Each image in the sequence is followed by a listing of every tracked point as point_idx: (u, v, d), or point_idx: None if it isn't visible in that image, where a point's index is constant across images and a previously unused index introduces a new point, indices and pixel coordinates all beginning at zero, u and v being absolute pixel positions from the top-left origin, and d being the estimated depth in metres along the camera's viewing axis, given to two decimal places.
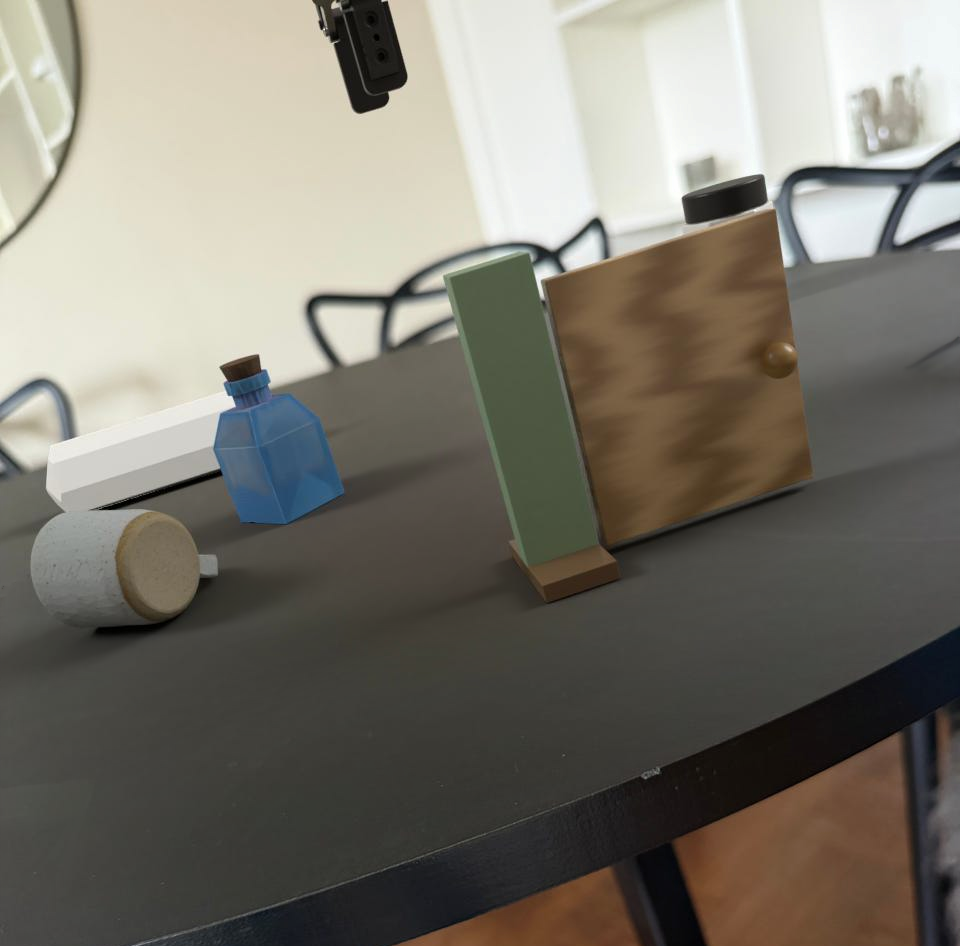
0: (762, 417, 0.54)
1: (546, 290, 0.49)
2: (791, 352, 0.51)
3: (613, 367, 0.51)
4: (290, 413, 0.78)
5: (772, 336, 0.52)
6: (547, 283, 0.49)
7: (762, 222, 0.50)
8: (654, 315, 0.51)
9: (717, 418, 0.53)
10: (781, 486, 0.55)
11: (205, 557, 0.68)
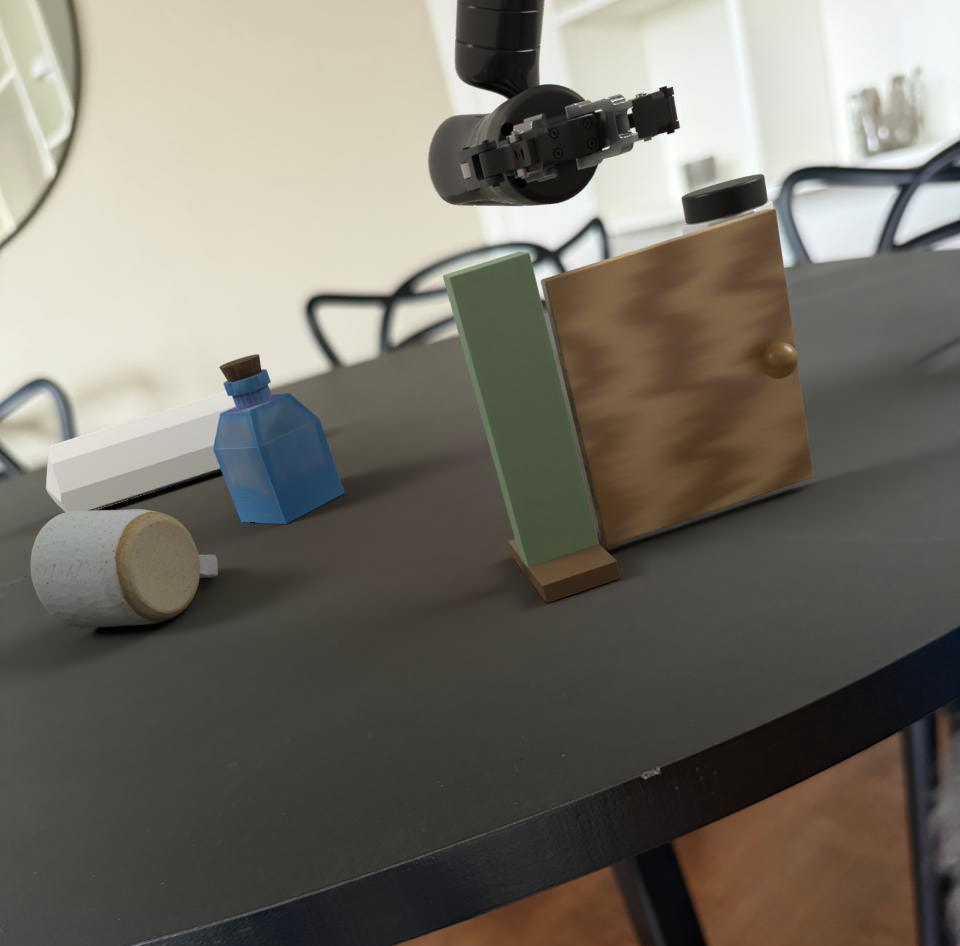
0: (762, 417, 0.54)
1: (546, 290, 0.49)
2: (791, 352, 0.51)
3: (613, 367, 0.51)
4: (290, 413, 0.78)
5: (772, 336, 0.52)
6: (547, 283, 0.49)
7: (762, 222, 0.50)
8: (654, 315, 0.51)
9: (717, 418, 0.53)
10: (781, 486, 0.55)
11: (205, 557, 0.68)
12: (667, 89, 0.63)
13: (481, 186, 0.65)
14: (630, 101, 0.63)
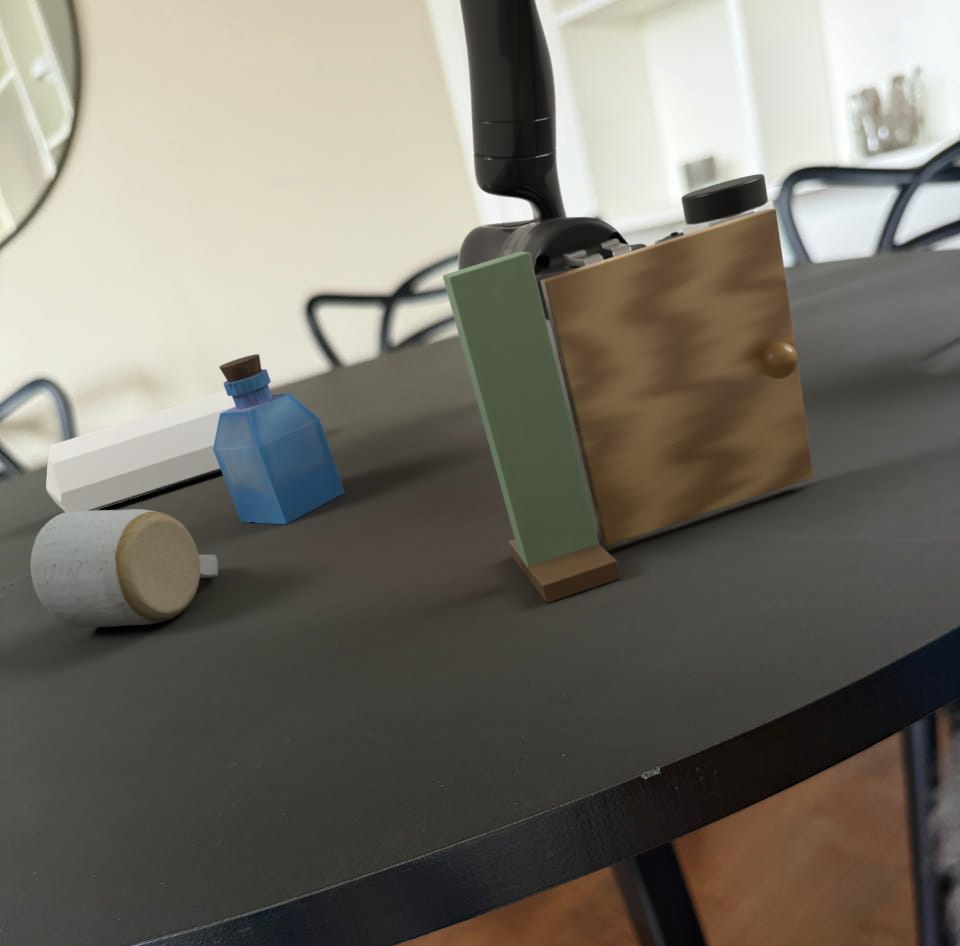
0: (762, 417, 0.54)
1: (546, 290, 0.49)
2: (791, 352, 0.51)
3: (613, 367, 0.51)
4: (290, 413, 0.78)
5: (772, 336, 0.52)
6: (547, 283, 0.49)
7: (762, 222, 0.50)
8: (654, 315, 0.51)
9: (717, 418, 0.53)
10: (781, 486, 0.55)
11: (205, 558, 0.68)
12: None
13: None
14: None
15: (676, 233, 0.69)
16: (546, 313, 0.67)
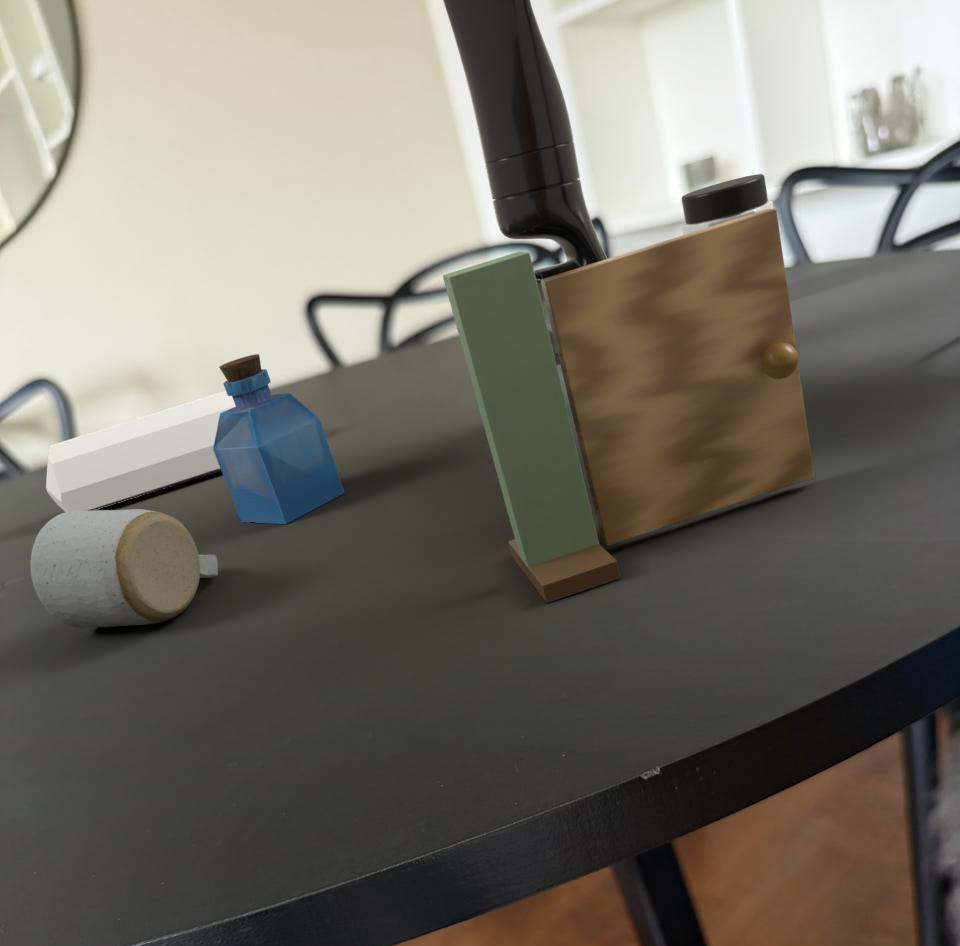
0: (762, 417, 0.54)
1: (546, 290, 0.49)
2: (791, 352, 0.51)
3: (613, 366, 0.51)
4: (290, 413, 0.78)
5: (773, 336, 0.52)
6: (547, 284, 0.49)
7: (762, 223, 0.50)
8: (654, 315, 0.51)
9: (717, 418, 0.53)
10: (781, 486, 0.55)
11: (205, 557, 0.68)
12: None
13: None
14: None
15: None
16: None
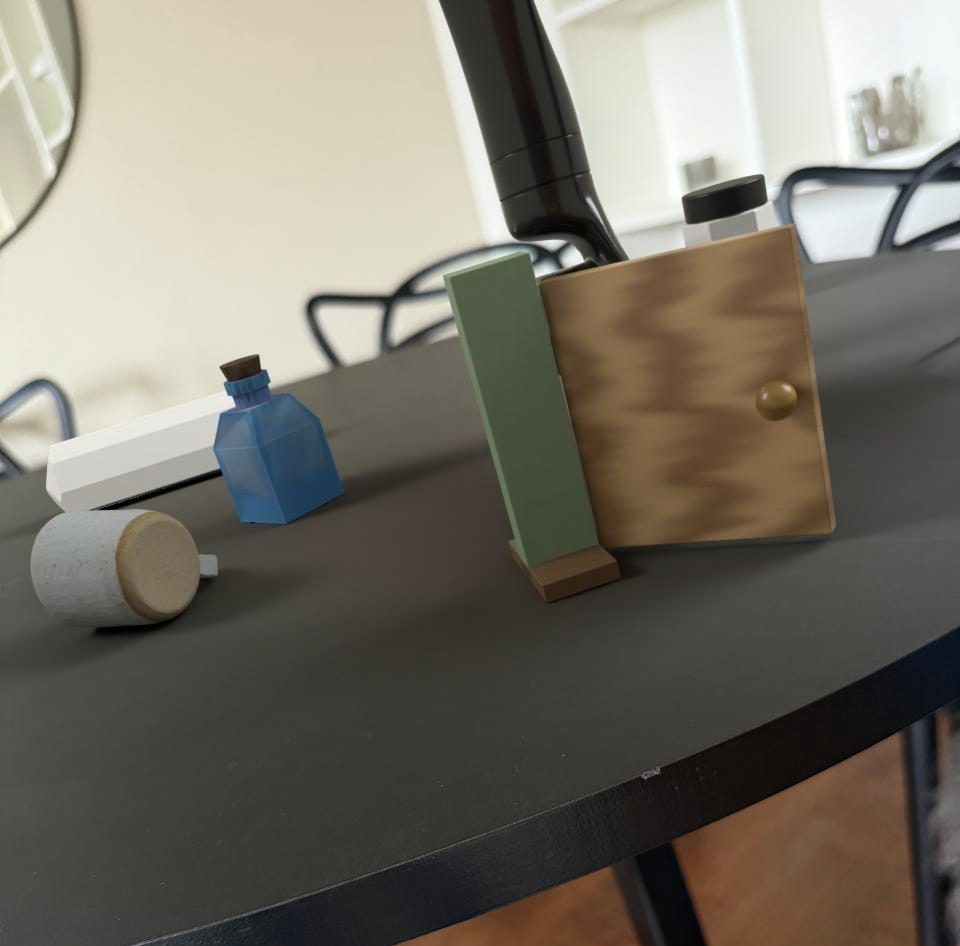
0: (769, 456, 0.48)
1: None
2: (778, 395, 0.45)
3: (605, 376, 0.50)
4: (290, 413, 0.78)
5: (783, 370, 0.46)
6: (540, 286, 0.49)
7: (771, 242, 0.43)
8: (647, 330, 0.48)
9: (716, 447, 0.49)
10: (791, 534, 0.49)
11: (205, 557, 0.68)
12: None
13: None
14: None
15: None
16: None
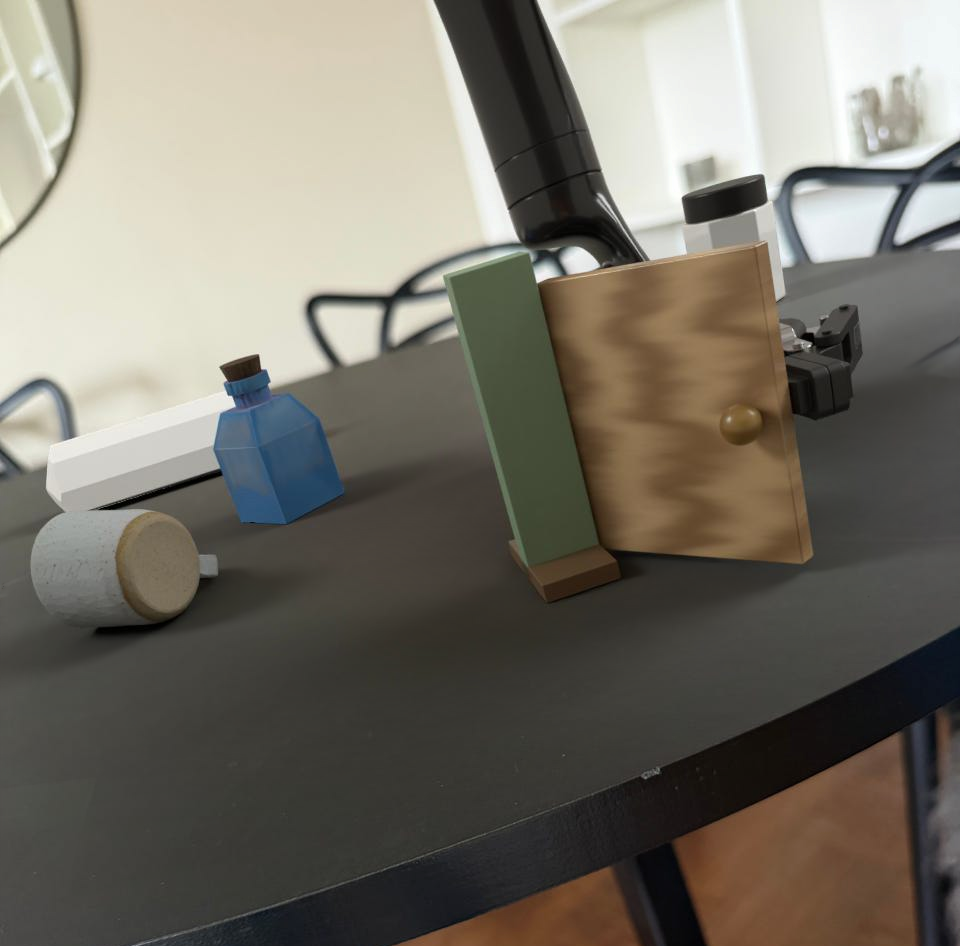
0: (743, 478, 0.46)
1: None
2: (737, 420, 0.43)
3: (595, 381, 0.49)
4: (290, 413, 0.78)
5: (753, 392, 0.44)
6: None
7: (738, 260, 0.41)
8: (630, 339, 0.47)
9: (695, 463, 0.48)
10: (765, 559, 0.48)
11: (205, 557, 0.68)
12: (827, 337, 0.47)
13: None
14: None
15: (848, 306, 0.51)
16: None
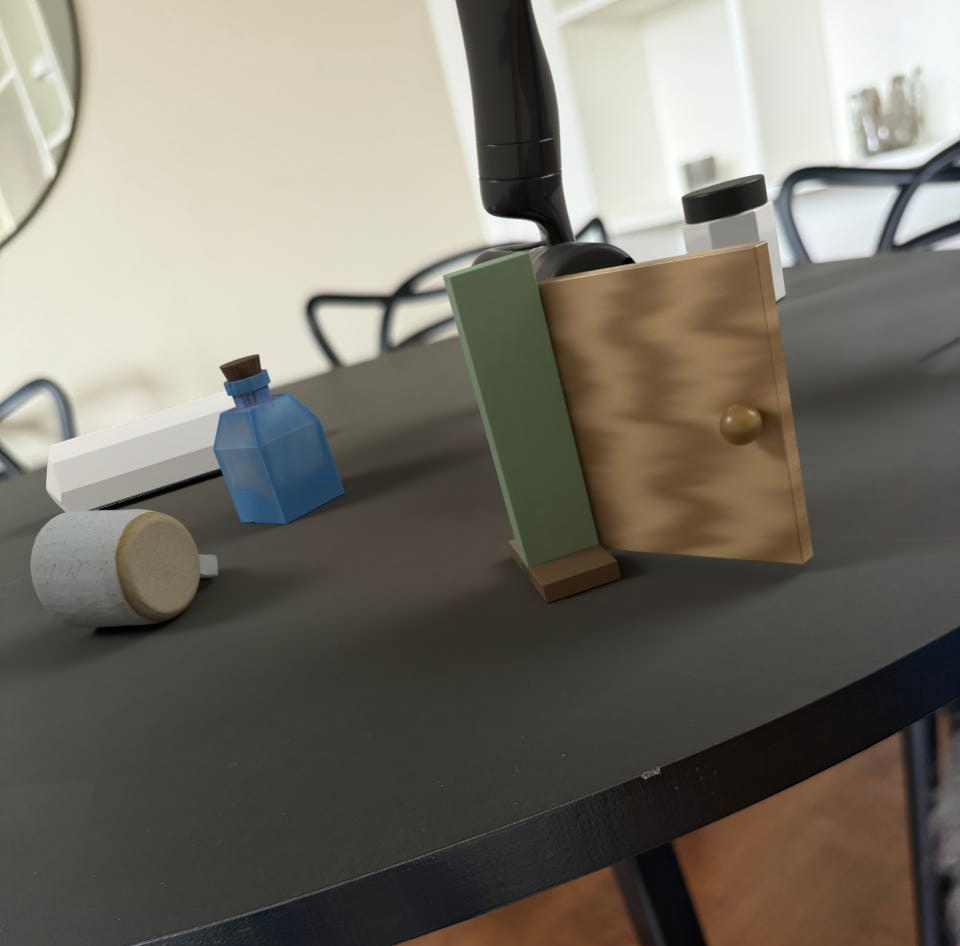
0: (743, 478, 0.46)
1: None
2: (737, 420, 0.43)
3: (595, 381, 0.49)
4: (290, 413, 0.78)
5: (753, 393, 0.44)
6: None
7: (738, 260, 0.41)
8: (630, 339, 0.47)
9: (695, 463, 0.48)
10: (765, 559, 0.48)
11: (205, 558, 0.68)
12: None
13: None
14: None
15: None
16: None
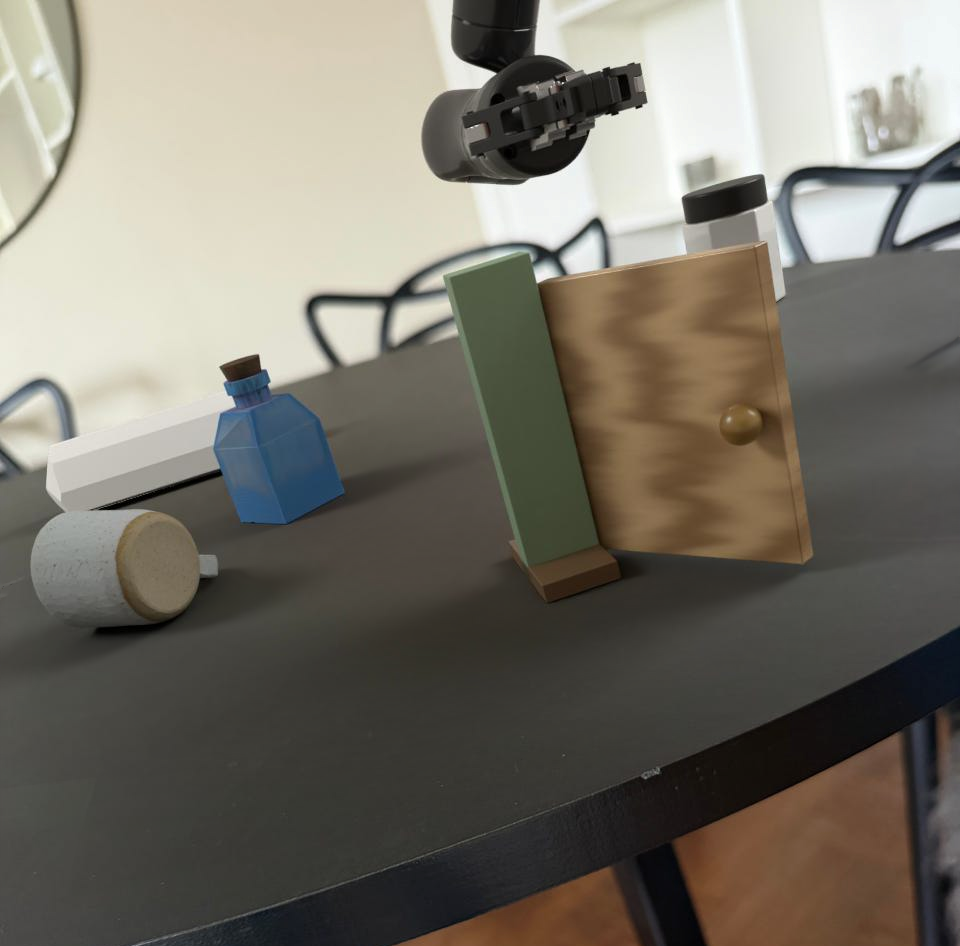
0: (743, 478, 0.46)
1: None
2: (737, 420, 0.43)
3: (595, 381, 0.49)
4: (290, 413, 0.78)
5: (753, 393, 0.44)
6: None
7: (738, 260, 0.41)
8: (630, 339, 0.47)
9: (695, 463, 0.48)
10: (765, 559, 0.48)
11: (205, 558, 0.68)
12: (604, 71, 0.63)
13: (514, 141, 0.64)
14: None
15: (633, 63, 0.67)
16: (498, 143, 0.65)
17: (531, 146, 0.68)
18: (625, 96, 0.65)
